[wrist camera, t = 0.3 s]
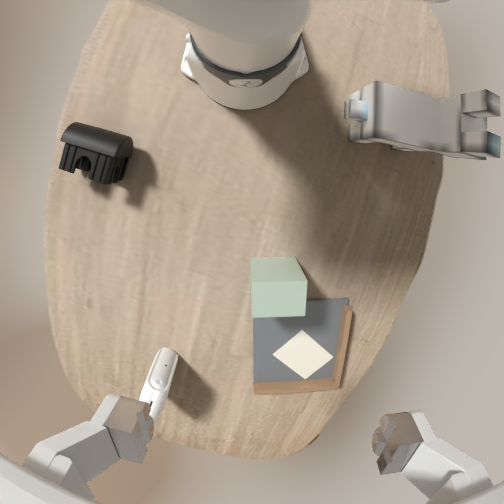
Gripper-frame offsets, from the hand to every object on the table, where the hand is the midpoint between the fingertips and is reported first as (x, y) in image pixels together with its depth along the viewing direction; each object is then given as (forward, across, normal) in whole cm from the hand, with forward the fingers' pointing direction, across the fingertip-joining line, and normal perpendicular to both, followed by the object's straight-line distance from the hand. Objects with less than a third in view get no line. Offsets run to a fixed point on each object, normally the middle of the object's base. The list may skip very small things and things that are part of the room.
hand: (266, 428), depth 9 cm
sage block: (+38, -1, +8) cm, 39 cm away
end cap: (+36, +26, -10) cm, 46 cm away
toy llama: (+40, -18, -17) cm, 47 cm away
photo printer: (+37, +17, +28) cm, 50 cm away
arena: (+39, -7, +22) cm, 45 cm away
